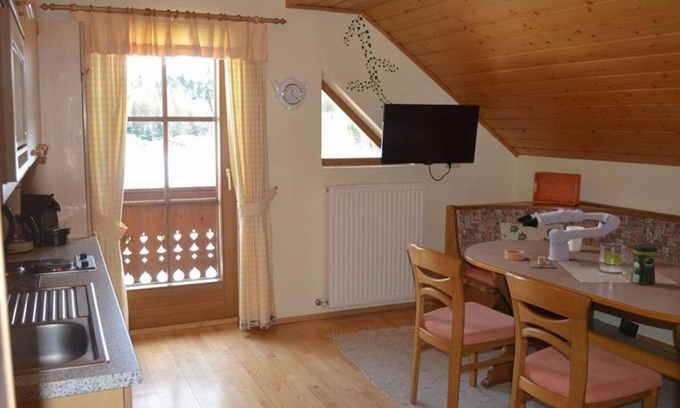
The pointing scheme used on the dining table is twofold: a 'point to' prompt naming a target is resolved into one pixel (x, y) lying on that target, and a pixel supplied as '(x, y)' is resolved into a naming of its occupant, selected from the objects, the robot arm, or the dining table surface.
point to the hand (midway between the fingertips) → (520, 222)
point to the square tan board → (541, 263)
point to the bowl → (514, 255)
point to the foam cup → (574, 240)
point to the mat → (540, 268)
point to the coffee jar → (644, 263)
